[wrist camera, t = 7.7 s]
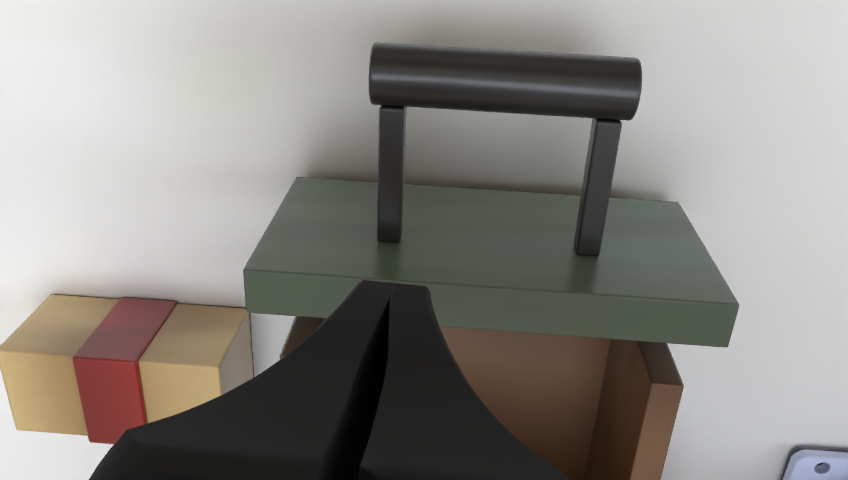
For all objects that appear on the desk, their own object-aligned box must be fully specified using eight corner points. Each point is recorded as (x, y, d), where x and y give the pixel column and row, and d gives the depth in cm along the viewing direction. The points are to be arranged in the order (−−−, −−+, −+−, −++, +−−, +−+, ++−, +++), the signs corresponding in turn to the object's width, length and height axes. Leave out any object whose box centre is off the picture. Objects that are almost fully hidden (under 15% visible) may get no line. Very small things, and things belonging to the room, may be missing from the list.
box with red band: (249, 305, 26) (217, 368, 23) (254, 385, 27) (225, 454, 24) (50, 291, 26) (-10, 351, 23) (66, 370, 28) (12, 437, 24)
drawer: (290, 7, 20) (226, 57, 15) (715, 32, 20) (799, 92, 15) (307, 485, 28) (268, 624, 23) (611, 509, 28) (642, 657, 23)
